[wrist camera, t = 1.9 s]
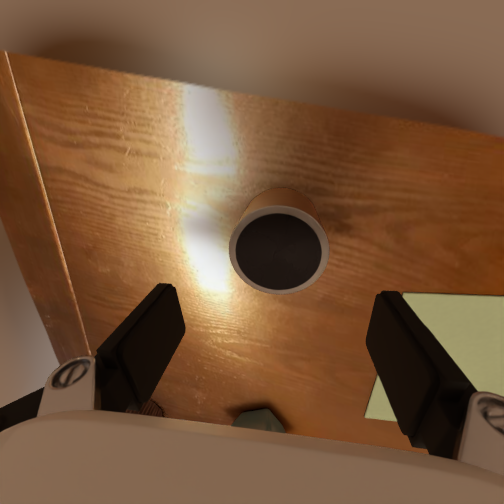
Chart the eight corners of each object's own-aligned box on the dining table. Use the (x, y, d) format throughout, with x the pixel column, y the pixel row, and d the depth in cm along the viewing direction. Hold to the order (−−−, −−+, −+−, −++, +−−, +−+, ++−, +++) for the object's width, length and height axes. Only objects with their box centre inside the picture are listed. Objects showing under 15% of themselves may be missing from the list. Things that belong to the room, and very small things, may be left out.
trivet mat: (403, 292, 21) (403, 293, 21) (695, 302, 18) (700, 304, 18) (364, 415, 31) (364, 417, 31) (547, 438, 27) (549, 440, 27)
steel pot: (240, 188, 19) (222, 206, 14) (321, 186, 18) (335, 204, 12) (246, 257, 22) (233, 293, 17) (315, 258, 21) (324, 297, 16)
